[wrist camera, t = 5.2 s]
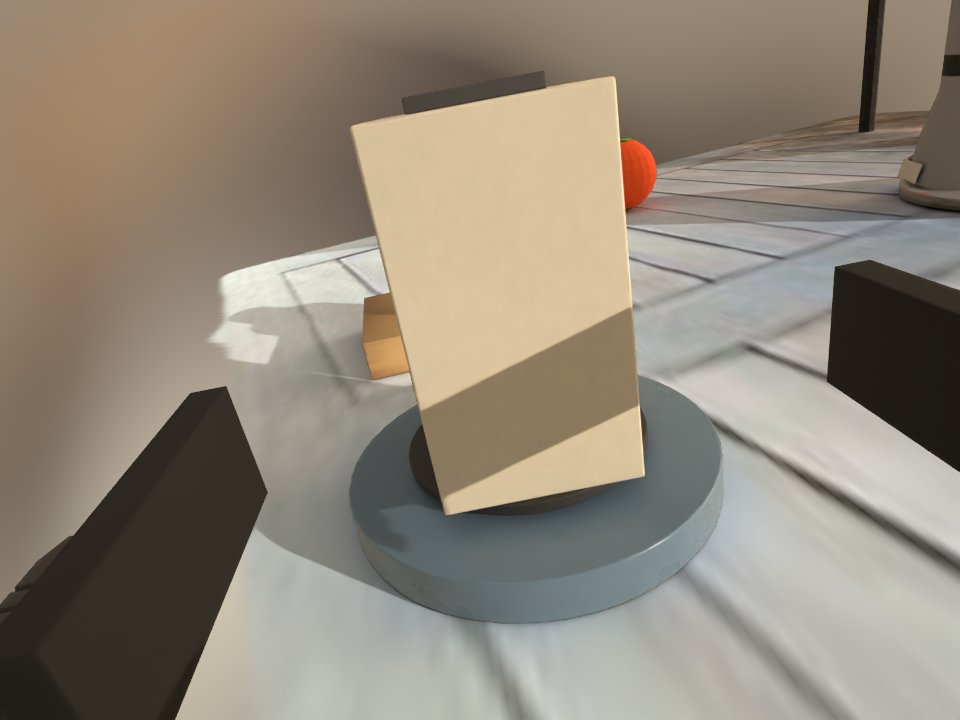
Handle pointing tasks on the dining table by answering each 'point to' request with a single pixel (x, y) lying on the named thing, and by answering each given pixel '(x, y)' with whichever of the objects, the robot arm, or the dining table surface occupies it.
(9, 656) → the robot arm
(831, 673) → the dining table surface
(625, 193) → the clementine
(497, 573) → the swivel base
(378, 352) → the button block
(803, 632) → the dining table surface
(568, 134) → the panel
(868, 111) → the solar garden light
